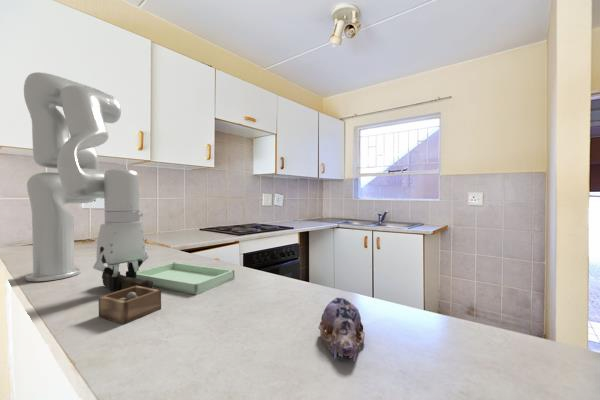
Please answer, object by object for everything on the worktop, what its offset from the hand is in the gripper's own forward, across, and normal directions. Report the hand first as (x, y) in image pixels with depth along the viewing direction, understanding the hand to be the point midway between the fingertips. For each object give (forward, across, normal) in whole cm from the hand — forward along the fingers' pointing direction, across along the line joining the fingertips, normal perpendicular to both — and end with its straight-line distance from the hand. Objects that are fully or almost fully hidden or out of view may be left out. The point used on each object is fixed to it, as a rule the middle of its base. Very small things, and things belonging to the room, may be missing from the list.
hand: (123, 288), depth 72 cm
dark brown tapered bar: (+1, 0, 0) cm, 1 cm away
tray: (+1, -13, +7) cm, 15 cm away
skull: (+1, +2, +58) cm, 58 cm away
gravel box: (+1, +8, +15) cm, 17 cm away
